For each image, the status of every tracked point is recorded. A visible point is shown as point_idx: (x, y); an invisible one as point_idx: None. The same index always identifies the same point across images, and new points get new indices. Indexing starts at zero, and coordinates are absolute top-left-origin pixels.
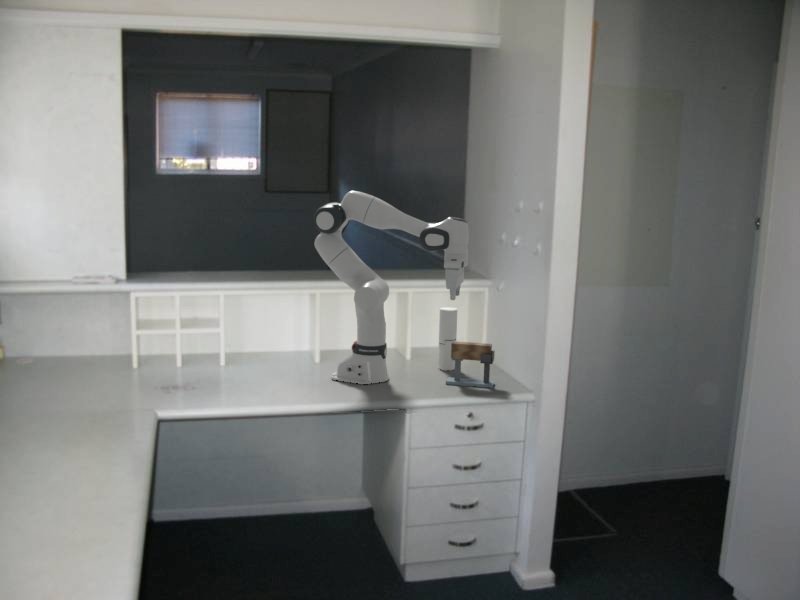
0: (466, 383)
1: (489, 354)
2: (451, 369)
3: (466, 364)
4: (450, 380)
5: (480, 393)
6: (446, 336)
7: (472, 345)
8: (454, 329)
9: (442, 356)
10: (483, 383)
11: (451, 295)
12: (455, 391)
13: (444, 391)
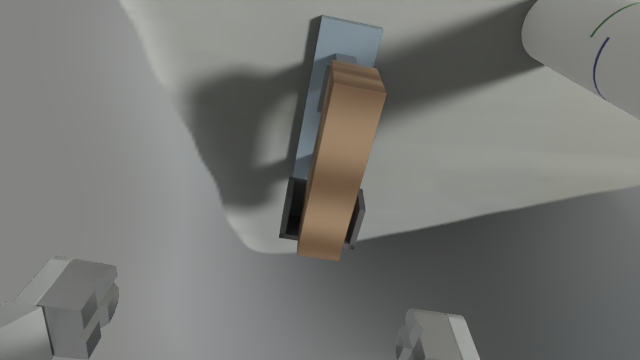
0: (307, 96)
1: (299, 227)
2: (524, 46)
3: (599, 108)
4: (333, 37)
5: (228, 133)
6: (614, 55)
7: (311, 183)
8: (638, 115)
9: (564, 13)
10: (307, 152)
11: (19, 312)
12: (233, 50)
13: (224, 7)
